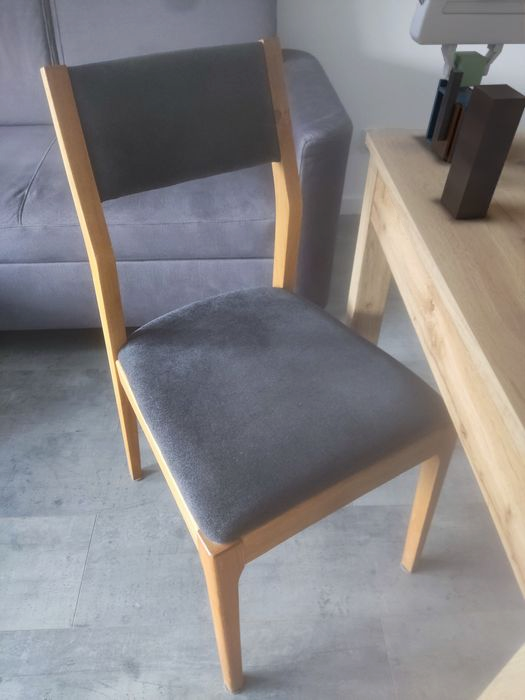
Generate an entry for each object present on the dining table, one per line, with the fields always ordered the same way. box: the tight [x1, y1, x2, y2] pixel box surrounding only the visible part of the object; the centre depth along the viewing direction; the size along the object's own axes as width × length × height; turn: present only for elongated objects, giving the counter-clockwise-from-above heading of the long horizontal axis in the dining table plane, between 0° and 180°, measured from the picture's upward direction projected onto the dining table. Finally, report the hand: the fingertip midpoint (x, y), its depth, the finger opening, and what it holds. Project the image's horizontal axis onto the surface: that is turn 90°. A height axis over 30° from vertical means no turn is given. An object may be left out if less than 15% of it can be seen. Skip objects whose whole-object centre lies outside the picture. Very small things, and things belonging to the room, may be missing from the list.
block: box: [444, 50, 488, 88], centre depth 82 cm, size 4×4×4 cm
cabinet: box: [424, 78, 473, 164], centre depth 85 cm, size 6×10×10 cm, turn 11°
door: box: [429, 69, 464, 160], centre depth 82 cm, size 2×5×13 cm, turn 10°
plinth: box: [439, 83, 525, 220], centre depth 68 cm, size 4×5×16 cm
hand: (464, 75), depth 83 cm, fingers closed on block, 4 cm apart
